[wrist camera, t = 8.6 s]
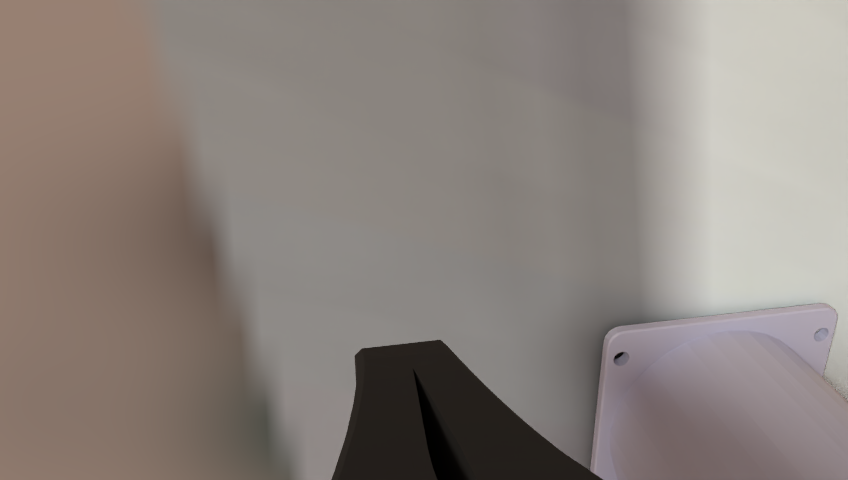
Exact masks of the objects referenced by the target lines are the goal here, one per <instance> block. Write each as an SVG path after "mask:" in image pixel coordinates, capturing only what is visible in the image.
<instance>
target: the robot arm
mask: <svg viewBox="0 0 848 480" xmlns="http://www.w3.org/2000/svg"><path fill="white" fill-rule="evenodd" d="M836 322H837V313H836V311H835V310H834V309H833V308H832V307H830V306H829V305H827V304H824V303H819V304H810V305H801V306H793V307H784V308H775V309H766V310H757V311H749V312H740V313H731V314H722V315H713V316H705V317H696V318H687V319H678V320H669V321H661V322H652V323H643V324H634V325H625V326H619V327H615V328H613V329H612V330H610V331H609V332H608V333H607V335H606V336H605V339H604V343H603V353H602V362H601V372H600V381H599V391H598V400H597V410H596V419H595V429H594V439H593V448H592V458H591V467H590V470H588V469H586V468H585V467H583V466H582V465H580V464H579V463H577V462H576V461H574V460H573V459H571V458H570V457H569V456H567V455H566V454H564V453H563V452H562V451H560V450H559V449H558V448H556V447H555V446H554V445H552V444H551V443H550V442H549V441H547V440H546V439H545V438H544V437H542V436H541V435H540V434H539V433H537V432H536V431H535V430H534V429H533V428H531V427H530V426H529V425H528V424H527V423H526V422H524V421H523V420H522V419H521V418H520V417H519V416H518V415H516V414H515V413H514V412H513V411H512V410H511V409H510V408H509V407H508V406H507V405H505V404H504V403H503V402H502V401H501V400H500V399H499V398H498V397H497V396H496V395H495V394H494V393H493V392H491V391H490V390H489V389H488V388H487V387H486V386H485V385H484V384H483V383H482V382H481V381H480V380H479V379H478V378H477V377H476V376H475V375H474V374H473V373H472V372H471V371H470V370H469V369H468V368H467V366H466V365H465V364H464V363H463V362H462V361H461V360H460V359H459V358H458V357H457V356H456V355H455V354H454V353H453V352H452V351H451V350H450V348H449V347H448V346H447V345H446V344H444V343H443V342H442V341H441V340H435V341H426V342H417V343H408V344H399V345H390V346H381V347H372V348H364V349H361V350H360V351H359V352H358V353H357V354H356V355H355V369H356V391H355V398H354V404H353V408H352V413H351V417H350V421H349V426H348V430H347V434H346V438H345V441H344V444H343V447H342V450H341V453H340V456H339V459H338V462H337V466H336V469H335V472H334V474H333V477H332V480H848V401H847V400H846V399H845V398H844V397H843V396H842V395H841V394H839V393H838V392H837V391H836V390H835V389H834V388H833V387H832V386H831V385H830V384H829V383H828V382H827V381H826V380H824V379H823V374H824V370H825V366H826V362H827V358H828V354H829V350H830V346H831V342H832V338H833V334H834V330H835V326H836ZM819 329H820V331H819V332H818V333H816V334H815V332H816V331H817V330H819ZM620 352H624V353H623V355H622V356H621V357H620V358H617V359H614V357H615V356H616V355H617V354H618V353H620Z"/></svg>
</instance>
